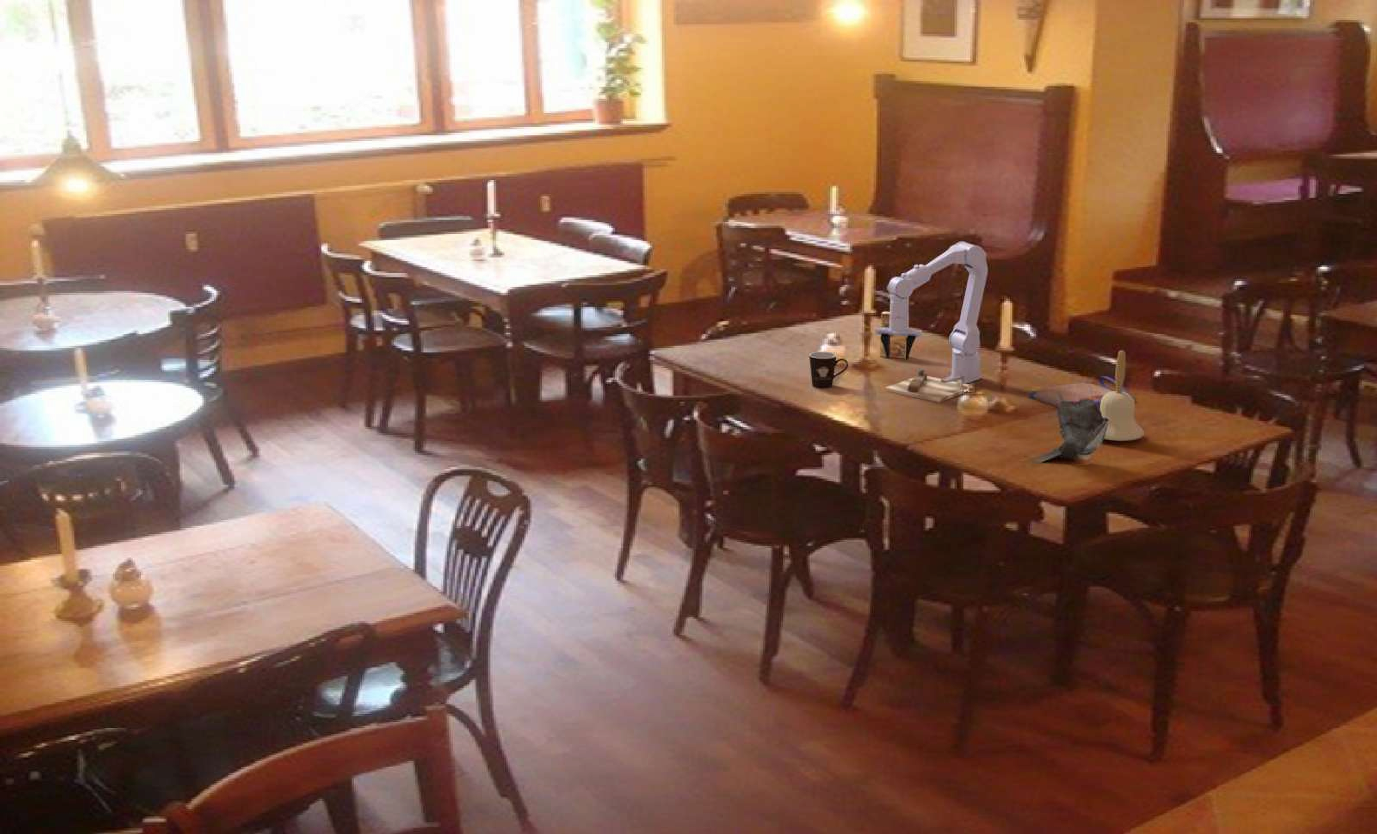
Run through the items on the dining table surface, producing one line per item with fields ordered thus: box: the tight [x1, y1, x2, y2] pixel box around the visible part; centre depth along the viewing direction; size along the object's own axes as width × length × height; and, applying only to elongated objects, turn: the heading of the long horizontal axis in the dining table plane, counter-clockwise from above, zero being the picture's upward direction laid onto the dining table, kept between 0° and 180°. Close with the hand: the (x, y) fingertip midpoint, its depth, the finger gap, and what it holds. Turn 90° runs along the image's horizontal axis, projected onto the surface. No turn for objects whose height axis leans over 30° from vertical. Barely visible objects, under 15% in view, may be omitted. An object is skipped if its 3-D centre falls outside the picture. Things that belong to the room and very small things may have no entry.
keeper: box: [940, 375, 965, 387], centre depth 435 cm, size 8×2×3 cm, turn 128°
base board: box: [884, 375, 970, 403], centre depth 438 cm, size 20×20×1 cm
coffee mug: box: [808, 351, 849, 389], centre depth 442 cm, size 12×9×10 cm
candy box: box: [879, 310, 910, 360], centre depth 476 cm, size 9×4×15 cm, turn 70°
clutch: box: [1028, 375, 1136, 409], centre depth 426 cm, size 28×5×20 cm
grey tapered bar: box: [908, 369, 928, 391], centre depth 439 cm, size 17×4×3 cm, turn 162°
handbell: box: [1099, 350, 1145, 442], centre depth 386 cm, size 15×15×25 cm
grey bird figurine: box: [1033, 390, 1109, 466], centre depth 367 cm, size 14×15×18 cm
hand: (897, 358), depth 439 cm, fingers open, 5 cm apart
